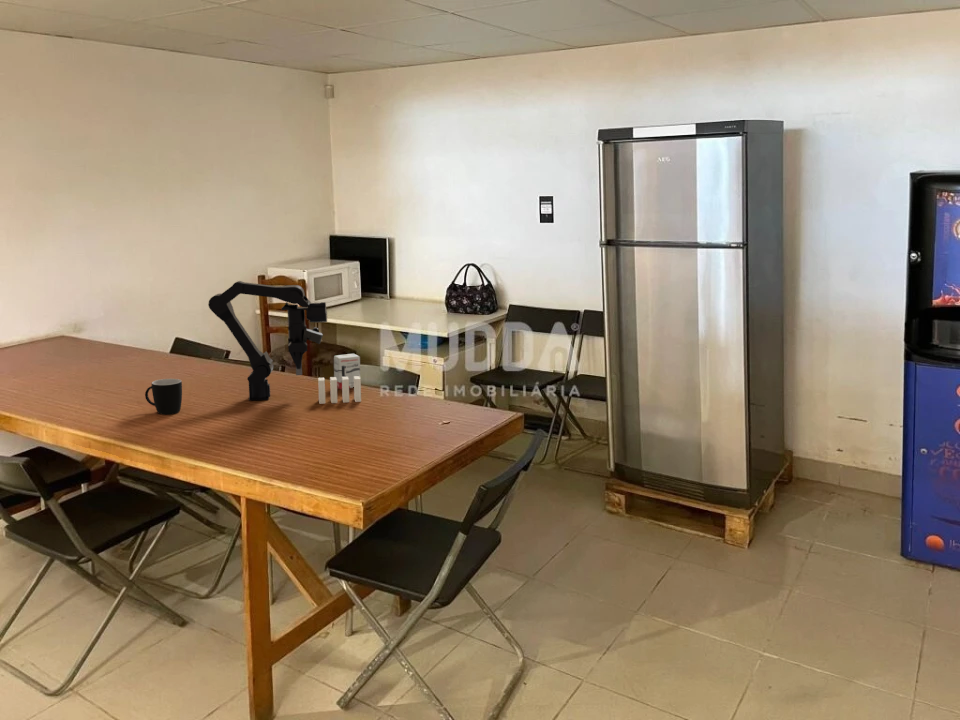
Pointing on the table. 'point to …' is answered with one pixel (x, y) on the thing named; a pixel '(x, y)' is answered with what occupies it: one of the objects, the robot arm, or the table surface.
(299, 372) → the domino
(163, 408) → the mug
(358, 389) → the domino
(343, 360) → the ink box
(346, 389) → the domino
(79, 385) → the table surface
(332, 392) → the domino
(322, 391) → the domino
